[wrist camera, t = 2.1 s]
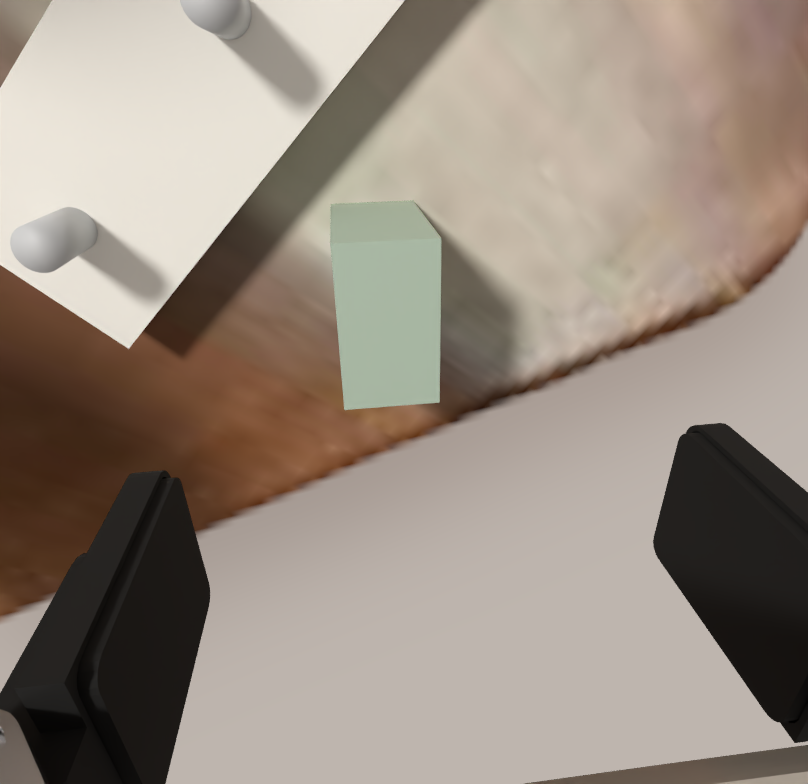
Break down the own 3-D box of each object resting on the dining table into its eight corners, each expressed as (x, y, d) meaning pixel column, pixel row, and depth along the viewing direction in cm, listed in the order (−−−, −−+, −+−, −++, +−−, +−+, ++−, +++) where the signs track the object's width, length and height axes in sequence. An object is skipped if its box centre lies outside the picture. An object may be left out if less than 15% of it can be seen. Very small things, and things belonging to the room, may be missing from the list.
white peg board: (143, 330, 25) (102, 381, 20) (-42, 205, 22) (-137, 234, 17) (569, -208, 18) (646, -305, 14) (391, -509, 15) (416, -761, 10)
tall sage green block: (417, 330, 26) (443, 402, 20) (341, 335, 26) (344, 409, 20) (416, 200, 24) (445, 237, 17) (330, 203, 23) (330, 243, 17)
